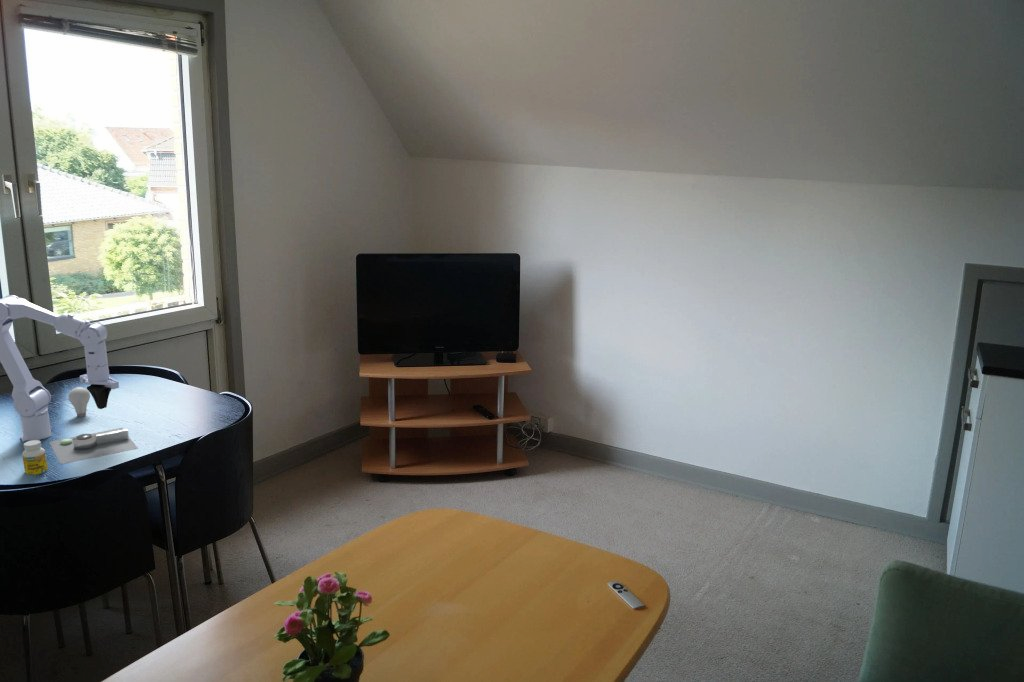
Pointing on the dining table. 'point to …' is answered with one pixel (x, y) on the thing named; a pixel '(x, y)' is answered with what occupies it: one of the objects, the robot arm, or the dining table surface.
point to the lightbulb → (79, 400)
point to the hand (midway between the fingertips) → (102, 407)
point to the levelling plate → (69, 454)
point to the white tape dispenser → (98, 439)
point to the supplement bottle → (34, 458)
